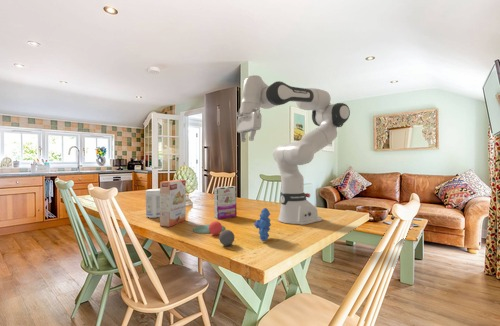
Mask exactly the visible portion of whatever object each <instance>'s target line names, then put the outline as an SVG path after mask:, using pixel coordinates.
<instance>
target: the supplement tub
mask: <svg viewBox="0 0 500 326" xmlns="http://www.w3.org/2000/svg"><path fill="white" fill-rule="evenodd" d="M145 215H146V218H148V217H149V218H148V219H156V218H157V217H158V218H160V188H150V189H146V190H145ZM158 218H157V219H158Z"/></svg>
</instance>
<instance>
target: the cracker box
mask: <svg viewBox="0 0 500 326" xmlns="http://www.w3.org/2000/svg"><path fill="white" fill-rule="evenodd" d="M186 183H187V181H186V180H185V179H173V180H166V181H160V182H159V189H160V217H159V226H160V227H167V228H170V227H173V226H175V225H177V224H180V223H183V222H185V221H186V205H187V204H186V198H187V197H186V194H187V193H186V192H187V191H186V189H187V188H186V187H187V184H186Z"/></svg>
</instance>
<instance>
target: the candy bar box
mask: <svg viewBox="0 0 500 326" xmlns="http://www.w3.org/2000/svg"><path fill="white" fill-rule="evenodd" d="M213 194H214V196H213V197H214V198H213V200H214V205H213V206H214V218H215V219H217V220H223V219H230V218H236V217H237V214H238V213H237V187H236V186H234V185H227V186H226V185H225V186H216V187H213Z"/></svg>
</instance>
